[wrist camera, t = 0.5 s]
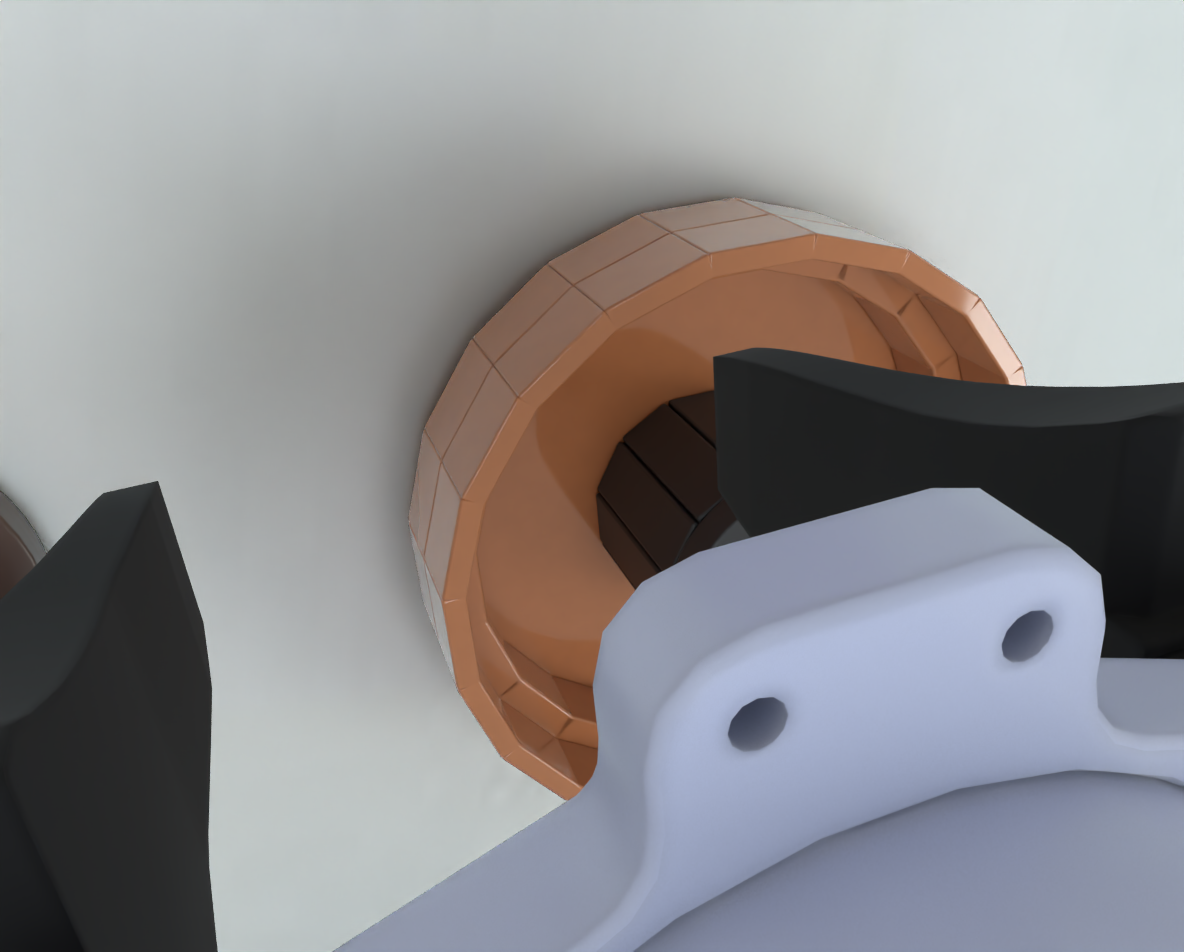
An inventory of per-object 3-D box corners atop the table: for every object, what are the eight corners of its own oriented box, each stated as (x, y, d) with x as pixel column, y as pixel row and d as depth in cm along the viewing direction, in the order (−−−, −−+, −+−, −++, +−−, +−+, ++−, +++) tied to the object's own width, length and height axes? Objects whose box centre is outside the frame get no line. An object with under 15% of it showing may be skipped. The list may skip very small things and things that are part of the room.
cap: (790, 555, 28) (902, 664, 24) (605, 606, 26) (687, 731, 22) (792, 371, 25) (917, 456, 21) (588, 417, 24) (677, 517, 20)
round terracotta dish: (912, 636, 31) (1002, 719, 28) (453, 777, 28) (493, 892, 24) (950, 153, 25) (1073, 185, 21) (355, 254, 21) (390, 312, 18)
